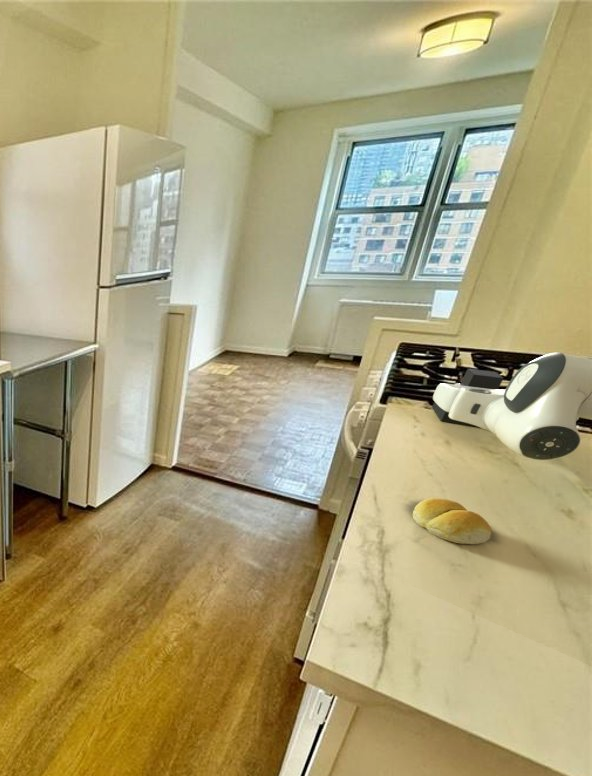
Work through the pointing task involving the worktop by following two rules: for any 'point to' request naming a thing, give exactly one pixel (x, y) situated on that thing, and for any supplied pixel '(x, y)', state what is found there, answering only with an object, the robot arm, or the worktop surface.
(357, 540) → the worktop surface
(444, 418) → the black open rectangular box
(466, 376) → the dark grey block
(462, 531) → the bread roll
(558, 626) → the worktop surface
